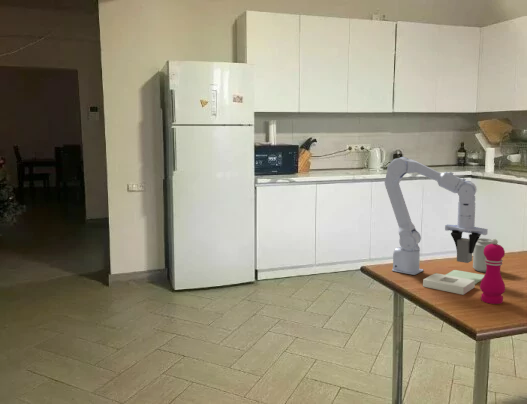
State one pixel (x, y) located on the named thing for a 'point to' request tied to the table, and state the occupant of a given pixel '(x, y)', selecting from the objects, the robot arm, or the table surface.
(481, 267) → the can
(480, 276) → the mat
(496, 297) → the pepper mill
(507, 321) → the table surface
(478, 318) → the table surface
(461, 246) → the plug
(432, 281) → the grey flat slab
